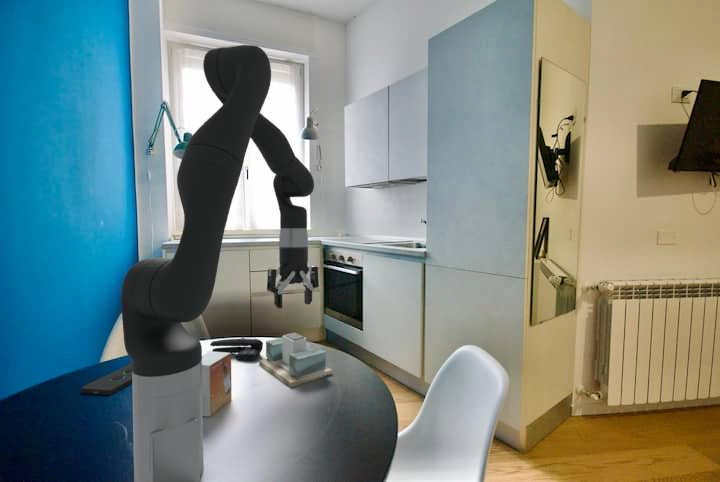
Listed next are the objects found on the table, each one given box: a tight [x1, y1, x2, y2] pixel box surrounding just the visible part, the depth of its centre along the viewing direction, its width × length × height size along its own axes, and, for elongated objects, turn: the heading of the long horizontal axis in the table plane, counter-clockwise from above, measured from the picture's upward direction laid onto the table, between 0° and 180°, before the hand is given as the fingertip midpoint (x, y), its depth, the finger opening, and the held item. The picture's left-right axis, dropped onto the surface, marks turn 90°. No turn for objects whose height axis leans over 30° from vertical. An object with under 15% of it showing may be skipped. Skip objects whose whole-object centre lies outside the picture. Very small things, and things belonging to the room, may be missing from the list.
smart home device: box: [81, 363, 132, 396], centre depth 89 cm, size 8×2×20 cm
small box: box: [202, 350, 232, 418], centre depth 73 cm, size 8×6×10 cm
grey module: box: [281, 332, 307, 365], centre depth 93 cm, size 4×6×7 cm, turn 39°
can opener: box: [209, 337, 264, 362], centre depth 104 cm, size 18×7×6 cm, turn 72°
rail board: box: [259, 337, 333, 388], centre depth 93 cm, size 18×12×6 cm, turn 40°
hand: (293, 305), depth 93 cm, fingers open, 8 cm apart
